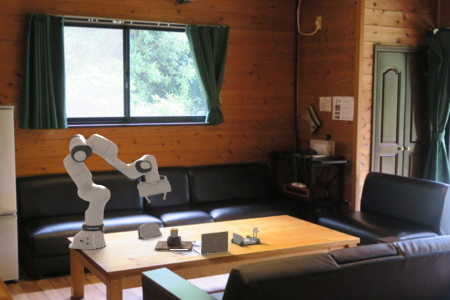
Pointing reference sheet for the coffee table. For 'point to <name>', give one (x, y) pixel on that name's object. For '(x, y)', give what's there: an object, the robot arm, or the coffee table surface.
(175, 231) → the toggle bar
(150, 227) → the grey rounded block
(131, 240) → the coffee table surface
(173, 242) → the keeper
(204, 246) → the laptop
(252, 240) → the toy car
